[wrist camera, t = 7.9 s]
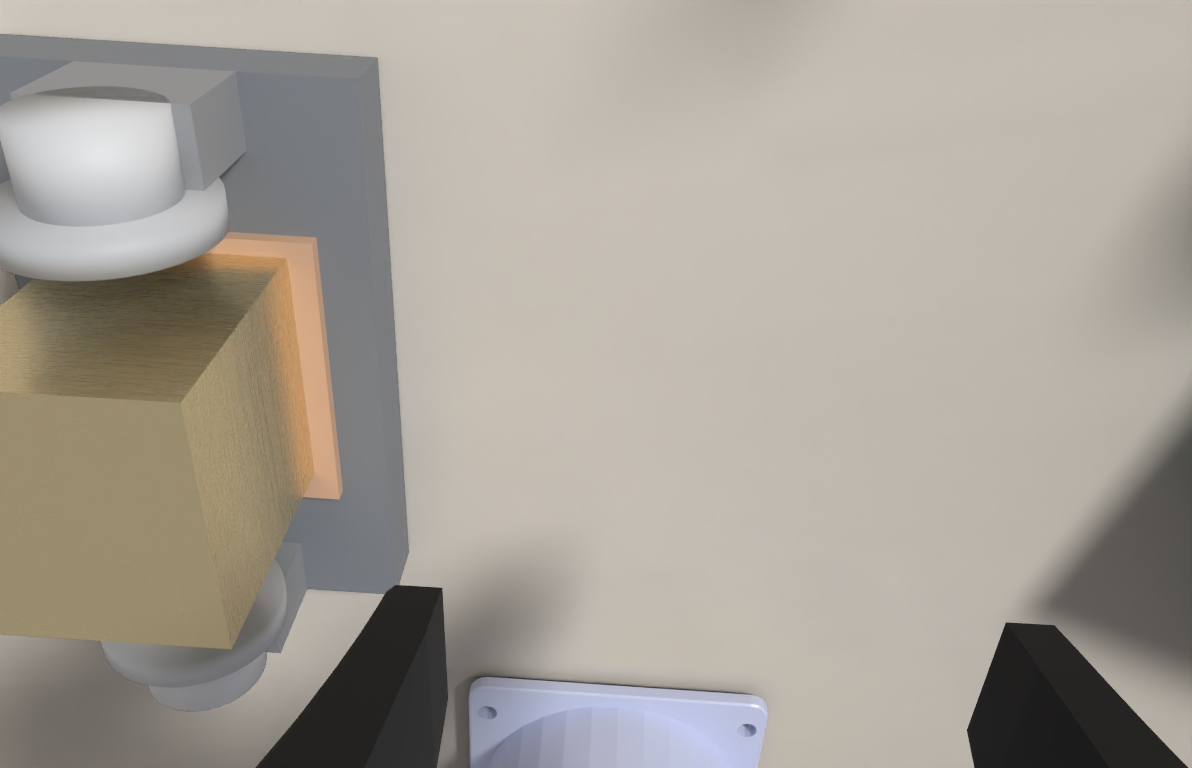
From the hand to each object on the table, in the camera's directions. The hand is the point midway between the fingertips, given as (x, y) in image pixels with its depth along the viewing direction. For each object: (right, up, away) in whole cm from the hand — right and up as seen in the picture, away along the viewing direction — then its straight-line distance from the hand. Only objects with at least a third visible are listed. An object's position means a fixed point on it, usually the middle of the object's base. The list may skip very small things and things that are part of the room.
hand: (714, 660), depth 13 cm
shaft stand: (-9, +5, +9) cm, 14 cm away
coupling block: (-9, +4, +7) cm, 12 cm away
